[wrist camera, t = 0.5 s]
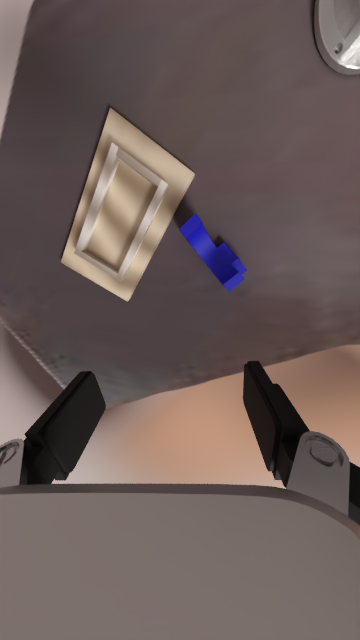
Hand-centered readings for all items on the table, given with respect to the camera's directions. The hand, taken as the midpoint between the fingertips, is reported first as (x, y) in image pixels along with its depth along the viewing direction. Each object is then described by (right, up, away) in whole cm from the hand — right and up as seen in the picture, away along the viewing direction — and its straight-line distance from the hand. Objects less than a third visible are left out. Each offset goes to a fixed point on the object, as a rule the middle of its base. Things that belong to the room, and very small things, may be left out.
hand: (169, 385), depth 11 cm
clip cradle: (-9, +21, +19) cm, 30 cm away
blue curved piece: (+7, +17, +20) cm, 27 cm away
